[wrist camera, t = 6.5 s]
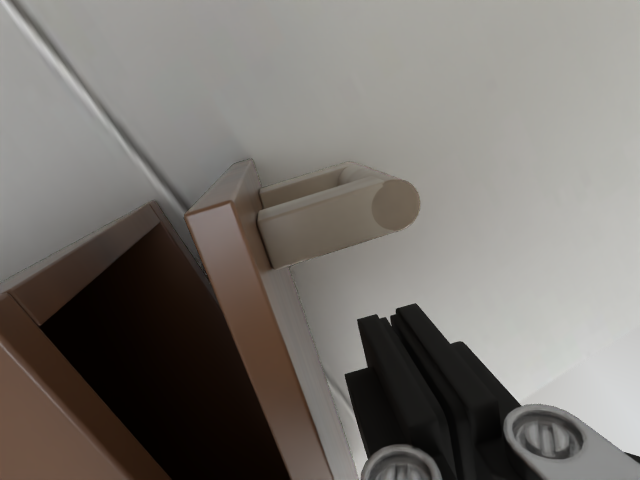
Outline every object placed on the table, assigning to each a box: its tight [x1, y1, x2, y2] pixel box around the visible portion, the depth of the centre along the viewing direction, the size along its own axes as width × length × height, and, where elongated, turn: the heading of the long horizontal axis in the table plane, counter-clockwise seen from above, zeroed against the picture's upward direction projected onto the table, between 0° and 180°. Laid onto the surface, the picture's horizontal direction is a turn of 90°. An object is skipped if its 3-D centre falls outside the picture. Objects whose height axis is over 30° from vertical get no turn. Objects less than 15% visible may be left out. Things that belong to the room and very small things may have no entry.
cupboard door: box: [184, 159, 420, 480], centre depth 13 cm, size 4×16×9 cm, turn 16°
